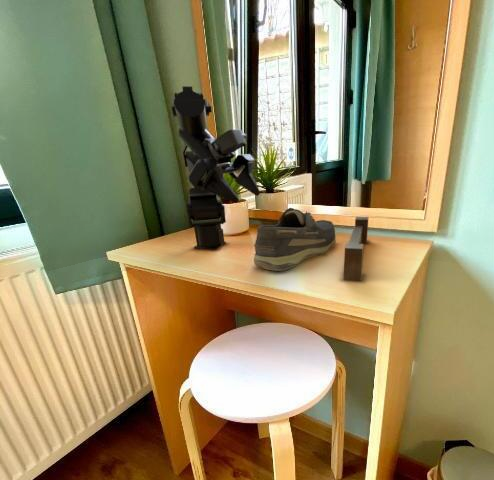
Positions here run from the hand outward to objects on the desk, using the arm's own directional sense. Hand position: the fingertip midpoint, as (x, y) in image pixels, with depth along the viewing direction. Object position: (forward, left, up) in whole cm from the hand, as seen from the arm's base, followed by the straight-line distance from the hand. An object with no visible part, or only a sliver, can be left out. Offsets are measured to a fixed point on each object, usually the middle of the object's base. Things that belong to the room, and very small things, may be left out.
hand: (248, 197), depth 68 cm
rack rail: (+24, +3, -14) cm, 28 cm away
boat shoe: (+11, +3, -14) cm, 18 cm away
